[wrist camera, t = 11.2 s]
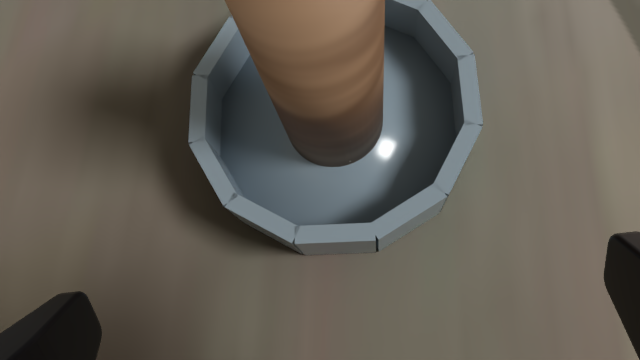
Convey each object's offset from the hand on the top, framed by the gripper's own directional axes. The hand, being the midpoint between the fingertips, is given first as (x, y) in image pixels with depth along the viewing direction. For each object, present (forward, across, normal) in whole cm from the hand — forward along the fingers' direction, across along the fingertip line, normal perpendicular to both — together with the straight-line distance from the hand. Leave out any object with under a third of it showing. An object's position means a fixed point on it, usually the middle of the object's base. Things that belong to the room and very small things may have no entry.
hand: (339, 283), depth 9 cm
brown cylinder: (+15, 0, +3) cm, 15 cm away
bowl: (+16, 0, +3) cm, 16 cm away
